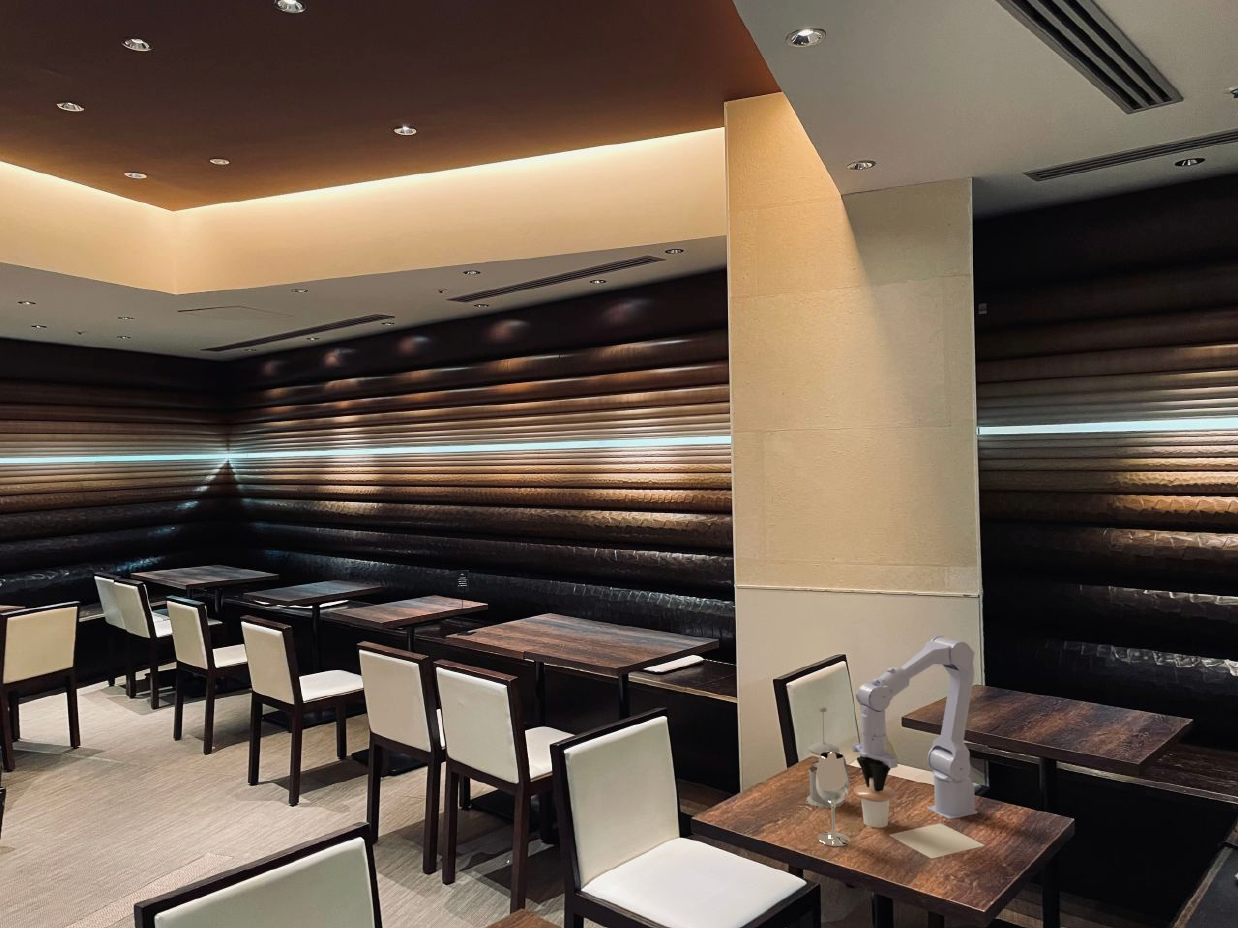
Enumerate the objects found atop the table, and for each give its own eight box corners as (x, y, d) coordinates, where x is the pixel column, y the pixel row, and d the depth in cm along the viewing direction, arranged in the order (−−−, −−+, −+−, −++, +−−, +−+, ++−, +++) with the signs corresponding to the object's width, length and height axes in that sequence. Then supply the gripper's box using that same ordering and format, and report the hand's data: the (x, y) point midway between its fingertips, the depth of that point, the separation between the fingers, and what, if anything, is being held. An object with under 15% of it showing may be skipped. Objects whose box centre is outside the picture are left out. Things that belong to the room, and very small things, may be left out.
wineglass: (832, 849, 194) (830, 762, 195) (810, 837, 201) (808, 753, 202) (857, 842, 198) (855, 756, 198) (835, 830, 205) (833, 747, 205)
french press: (798, 797, 227) (796, 704, 227) (833, 790, 231) (831, 699, 232) (821, 810, 218) (819, 713, 218) (857, 802, 222) (855, 707, 223)
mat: (940, 824, 207) (940, 823, 207) (985, 846, 194) (985, 845, 194) (888, 836, 201) (888, 834, 201) (931, 860, 188) (931, 858, 188)
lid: (877, 783, 215) (877, 769, 215) (904, 796, 206) (904, 782, 206) (845, 789, 211) (845, 775, 211) (871, 803, 202) (871, 788, 202)
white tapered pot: (891, 830, 204) (891, 801, 204) (862, 828, 206) (861, 800, 206) (888, 819, 211) (888, 791, 211) (860, 817, 212) (859, 790, 213)
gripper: (842, 727, 214) (843, 781, 214) (880, 743, 201) (881, 800, 200) (864, 724, 217) (865, 777, 216) (903, 739, 203) (905, 796, 203)
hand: (874, 788), depth 209 cm, fingers closed on lid, 2 cm apart
